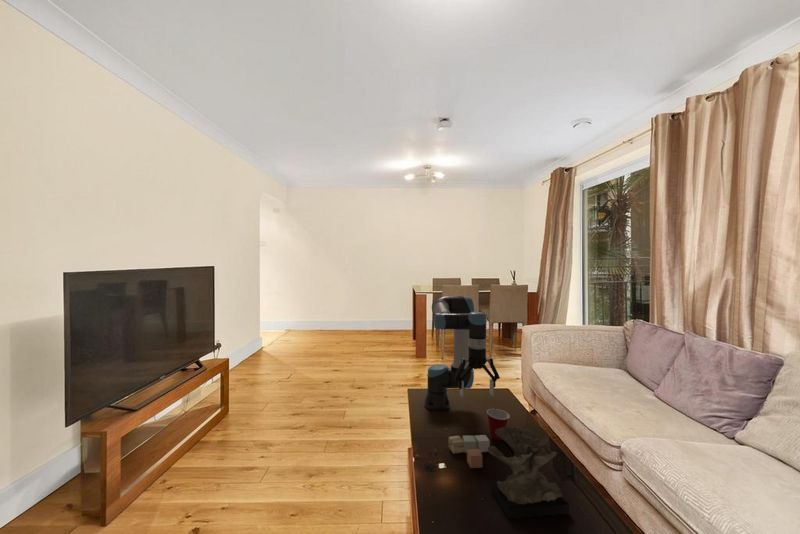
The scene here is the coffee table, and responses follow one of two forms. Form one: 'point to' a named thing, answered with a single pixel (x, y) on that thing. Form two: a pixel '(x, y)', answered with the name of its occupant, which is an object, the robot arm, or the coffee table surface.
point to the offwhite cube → (482, 443)
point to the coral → (526, 477)
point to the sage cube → (469, 443)
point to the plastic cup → (497, 421)
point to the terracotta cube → (474, 458)
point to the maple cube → (456, 444)
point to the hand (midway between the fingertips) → (476, 395)
